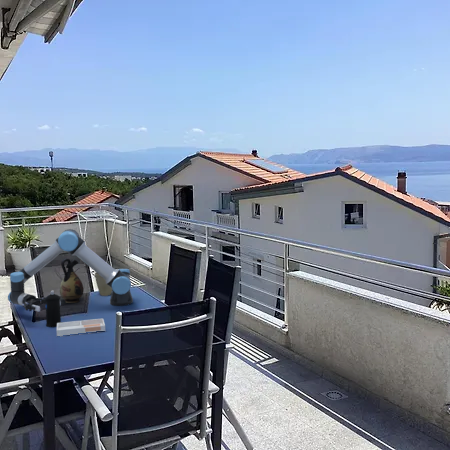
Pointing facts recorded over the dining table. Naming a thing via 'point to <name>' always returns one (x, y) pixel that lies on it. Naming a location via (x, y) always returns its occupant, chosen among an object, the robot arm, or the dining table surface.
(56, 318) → the aerosol can
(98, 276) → the plant pot
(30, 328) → the dining table surface
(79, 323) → the tray
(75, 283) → the ceramic jug
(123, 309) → the dining table surface
